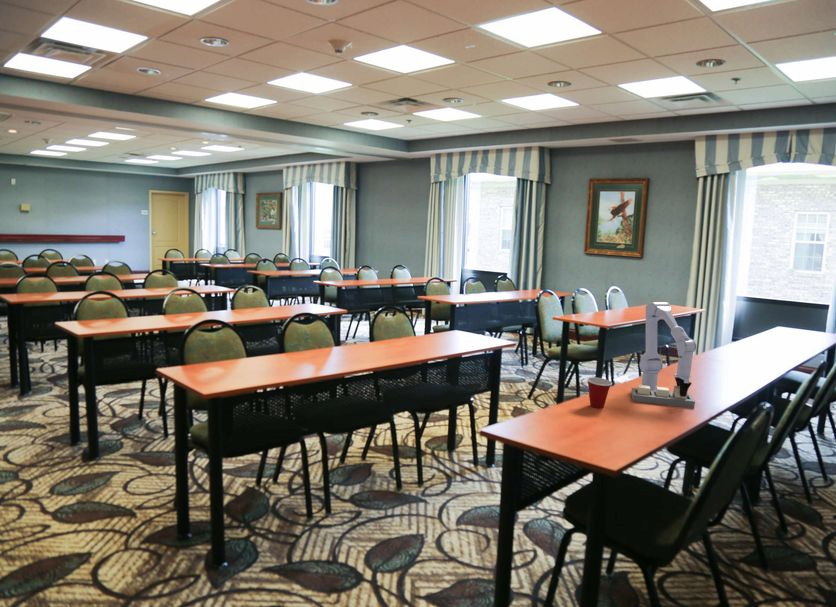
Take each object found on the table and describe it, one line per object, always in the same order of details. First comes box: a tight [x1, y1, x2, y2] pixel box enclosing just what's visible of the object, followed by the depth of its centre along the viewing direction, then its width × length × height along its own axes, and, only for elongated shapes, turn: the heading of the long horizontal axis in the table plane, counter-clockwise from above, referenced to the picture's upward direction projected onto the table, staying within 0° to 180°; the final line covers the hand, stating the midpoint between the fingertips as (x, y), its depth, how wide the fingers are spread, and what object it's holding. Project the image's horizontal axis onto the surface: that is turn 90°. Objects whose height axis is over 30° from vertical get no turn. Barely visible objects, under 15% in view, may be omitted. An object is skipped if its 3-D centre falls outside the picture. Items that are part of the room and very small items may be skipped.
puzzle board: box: [630, 384, 696, 409], centre depth 280 cm, size 13×26×6 cm, turn 74°
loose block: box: [672, 385, 689, 399], centre depth 278 cm, size 5×5×5 cm
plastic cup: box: [586, 376, 613, 409], centre depth 267 cm, size 11×11×12 cm
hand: (681, 394), depth 278 cm, fingers closed on loose block, 5 cm apart
